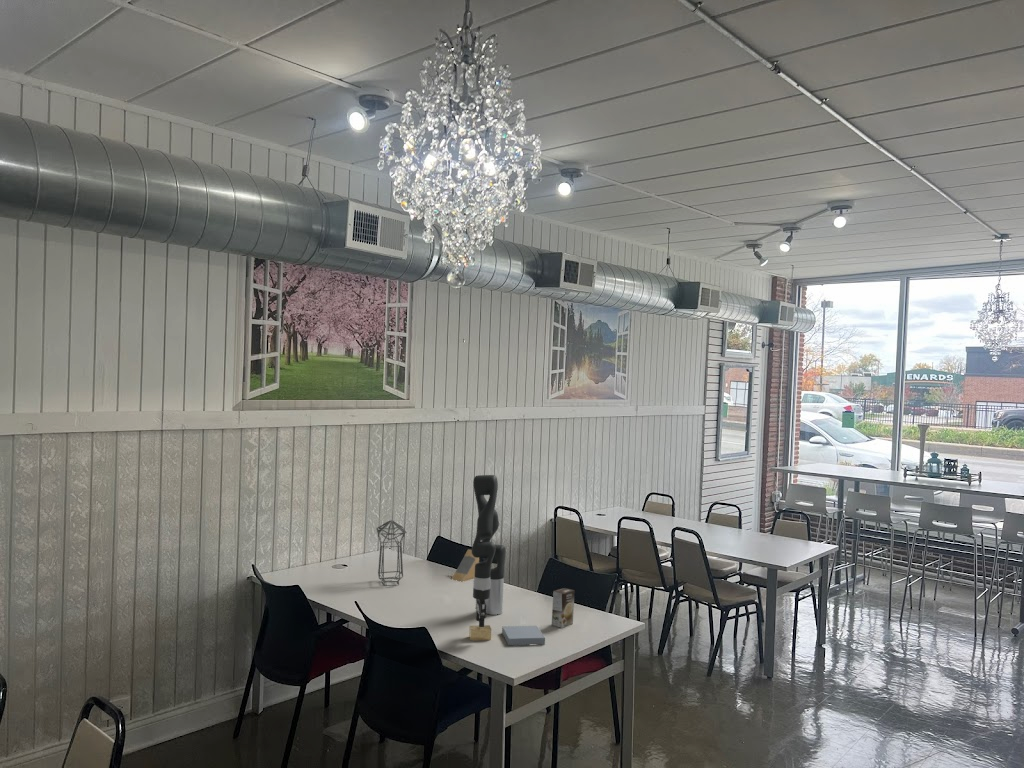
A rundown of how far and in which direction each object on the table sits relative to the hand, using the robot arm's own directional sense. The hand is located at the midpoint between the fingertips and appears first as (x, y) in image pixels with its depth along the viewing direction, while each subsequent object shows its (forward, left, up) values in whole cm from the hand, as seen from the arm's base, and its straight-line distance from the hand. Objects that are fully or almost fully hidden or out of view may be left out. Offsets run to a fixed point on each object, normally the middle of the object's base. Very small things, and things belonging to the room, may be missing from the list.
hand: (480, 623), depth 326 cm
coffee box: (-16, +42, -7) cm, 46 cm away
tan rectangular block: (0, 0, -7) cm, 7 cm away
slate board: (+2, +19, -7) cm, 20 cm away
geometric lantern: (-89, -37, -7) cm, 97 cm away
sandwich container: (-99, +7, -7) cm, 100 cm away
